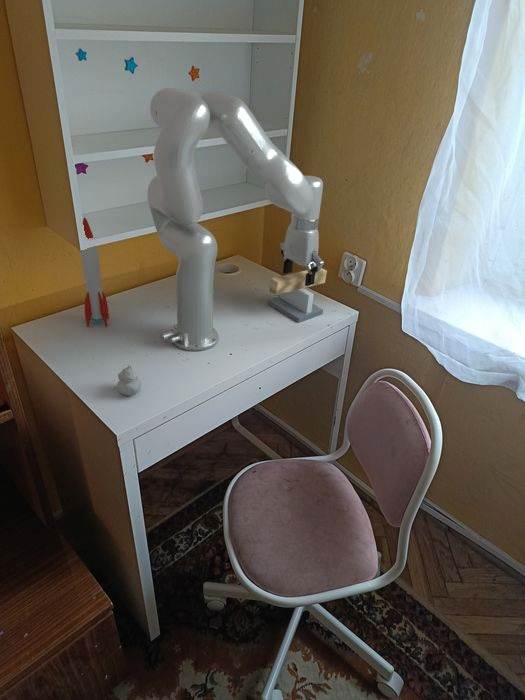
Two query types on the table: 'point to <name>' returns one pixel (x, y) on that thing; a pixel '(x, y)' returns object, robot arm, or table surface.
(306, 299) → the fulcrum
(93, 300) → the toy rocket
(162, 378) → the table surface
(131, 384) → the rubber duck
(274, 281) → the rod
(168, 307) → the table surface
